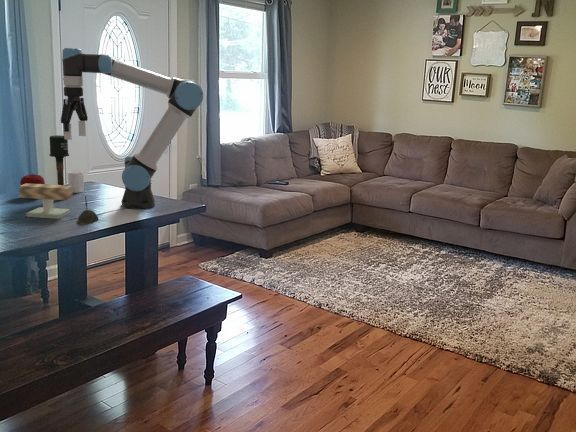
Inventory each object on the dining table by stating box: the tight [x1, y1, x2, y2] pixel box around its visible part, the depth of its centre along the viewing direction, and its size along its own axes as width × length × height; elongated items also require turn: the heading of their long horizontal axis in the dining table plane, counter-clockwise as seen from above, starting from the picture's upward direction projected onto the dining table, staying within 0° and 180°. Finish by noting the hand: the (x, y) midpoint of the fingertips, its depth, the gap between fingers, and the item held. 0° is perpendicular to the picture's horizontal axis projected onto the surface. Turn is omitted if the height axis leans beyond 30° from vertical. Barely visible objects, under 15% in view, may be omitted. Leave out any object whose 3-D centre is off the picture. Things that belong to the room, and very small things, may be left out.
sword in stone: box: [77, 195, 99, 225], centre depth 246 cm, size 10×8×12 cm
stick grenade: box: [49, 135, 70, 185], centre depth 278 cm, size 8×9×30 cm
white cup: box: [66, 170, 85, 194], centre depth 299 cm, size 8×8×10 cm
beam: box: [18, 183, 74, 201], centre depth 252 cm, size 20×6×5 cm, turn 89°
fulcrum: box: [25, 199, 71, 220], centre depth 253 cm, size 14×11×8 cm
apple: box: [19, 173, 45, 186], centre depth 282 cm, size 11×11×12 cm
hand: (75, 137), depth 252 cm, fingers open, 13 cm apart
